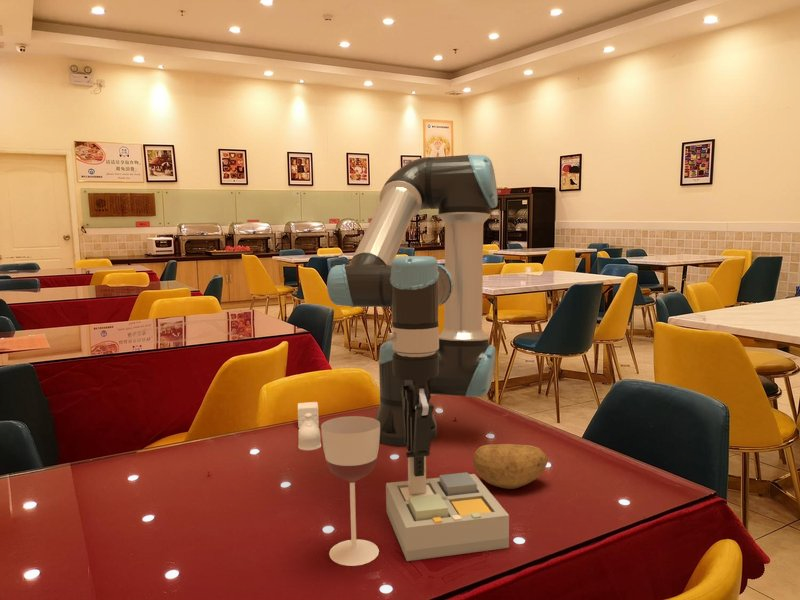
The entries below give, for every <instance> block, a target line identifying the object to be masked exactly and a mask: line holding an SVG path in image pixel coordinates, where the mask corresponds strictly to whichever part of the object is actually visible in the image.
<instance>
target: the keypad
mask: <svg viewBox="0 0 800 600" xmlns="http://www.w3.org/2000/svg"><path fill="white" fill-rule="evenodd" d="M468 474H469V475H470V476H471V478H472V479H473V480H474V481H475V482H476V484H477V493H470V494H461V495H452V496H446V495H445V494H444V492H443V491H442V489H441V488H440V477H433V478H426V485H429V487H430V488H431V490H432V492H433V493H434V494H440V496H441V497H442V499H443V500H444V502H445V504H446V505H447V507H448V517H447V518H441V517H436V518H433V519H430V520H421V521H414V520H413V518H412V516H411V514H410V512H409V500H408V501H404V499H403V497H402V495H401V493H400V488H404V487H408V480H403V481H396V482H395V481H394V482H386V483H385V495H386V496H385V500H386V507H385V510H386V514H387V516H388V518H389V522H390V524H391V526H392V528H393V531H394V534H395V536H396V539H397V541H398V543H399V546H400V548H401V551H402V553H403V556H404V558H405V560H406V562H410V561H418V560H426V559H435V558H441V557H450V556H456V555H463V554H471V553H479V552H487V551H488V552H489V551H493V550H494V551H495V550H502V549H508V548H510V515H509V513H508V512H507V511H506V509H505V508H503V507H502V505H501V504H500V502H499V501H498V500H497V499H496V498H495V496H494V495H493V494H492V493H491V492H490V490H489V489H488V488H487V487H486V485H484V484H483V483H484V482H482V481H481V480H480V478H479V477H478V476H477V475H476V474H475V473H472V474H471V473H468ZM480 498H481V499H482V500H483V502H484V503H485V504H486V506H487V507H488V508H489V509H490V511H491V512H489V513H480V514H479V513H471V515H463V516H460V515H458V514H457V512H456V510H455V509H454V507H453V506H452V504H451V502H454V501H463V500H471V499H480Z"/></svg>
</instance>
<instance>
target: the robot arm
mask: <svg viewBox="0 0 800 600" xmlns="http://www.w3.org/2000/svg"><path fill="white" fill-rule="evenodd" d="M498 203H499V202H498V188H497V179H496V174H495V170H494V165H493V161H492V160H491V159H490V157H489V156H487V155H484V154H482V155H481V154H470V153H469V154H463V155H448V156H447V155H446V156H431V157H430V156H426V157H421V158H417V159H414V160H412V161H409V162H407V163H406V164H404V165H403V166H401V168H398V169H397V170H396V171H395V172H394V173H393V174H392V175H391V176H389V178H388V179H387V180H386V182H385V183H384V185H383V187H382V189H381V190H380V192H379V204H378V207H377V209H375V212H374V215H373V217H372V218H371V219H370V223H369V224H368V227H367V228H366V231H365V232H364V234H363V236H362V238H361V240H360V241H359V244H358V246H357V248H356V250H355V251H354V254H353V256H352V258H351V259H350V261H349V263H348V264H345V263H343V264H338V265H334V266H332V267H331V268H330V270H329V272H328V275H327V281H326V289H327V293H328V294H327V295H328V297H329V300H330V301H331V303H333V305H336V306H343V307H344V306H345V307H351V308H355V307H356V308H357V307H358V308H359V307H360V308H362V307H364V308H367V307H368V308H370V307H371V308H373V307H375V308H377V307H379V308H380V307H382V308H383V307H384V308H386V307H387V308H391V327H392V329H391V330H392V332H389V333H388V339H390V340H387V341H385V342H383V343H382V344H381V345H380V347H379V355H378V357H379V358H378V359H379V360H378V366H379V367H378V368H379V370H378V372H379V373H378V374H379V375H378V376H379V408H378V409H377V414H376V416H375V419H376V420H378V421H379V422H380V440H379V443H381V444H385V445H389V446H398V447H406V450H407V452H405V454H406V455H405V456H406V458H407V481H408V491H409V493H410V494H418V493H426V479H427V457H430V455H431V442H432V441H434V440H435V439H436V438H437V437H438V424H437V421H436V418H435V415H434V407H435V406H434V403H433V402H431V401H430V400H431V395H437V396H453V397H454V396H456V397H465V398H469V397H470V398H471V397H473V398H475V397H477V398H482V397H484V396H486V395H487V394H488V392H489V390H490V388H491V385H492V380H493V376H494V370H495V364H496V347H495V345H492V344H490V343H489V336H488V335H487V333H485V332H484V330H483V290H484V289H483V283H484V282H483V281H484V280H483V275H484V273H483V272H484V223H485V222H486V221H487V220H488V219H490V217H491V209H494V208H496V207H497V206H498ZM421 210H438V218H439V219H440V220H441V221H442V222H443V223H444V266H443V265H441V264H438V260H437V258H436V257H434V256H430V255H428V256H427V255H412V256H411V255H410V256H409V255H407V256H405V255H404V256H397V253H398V251H399V249H400V247H401V244H402V243H403V240H404V238H405V235H406V233H407V230H408V228H409V226H410V223H411V221H412V219H413V218H415V217H416V216H417V215H418V214H419V213H420V211H421ZM396 256H397V257H396ZM442 305H443V307H444V309H443V310H444V313H443V318H444V319H443V321H444V322H443V330H442V331H441V332H440V329H439V328H440V327H439V307H440V306H442Z"/></svg>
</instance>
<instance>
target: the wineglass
mask: <svg viewBox="0 0 800 600" xmlns="http://www.w3.org/2000/svg"><path fill="white" fill-rule="evenodd" d="M320 427H321V430H320V433H321V440H322V447H323V448H322V449H323V452H324V456H325V461H326V465H327V468H328V470H329V471H330V473H332V474H333V475H334V476H335V477H337V478H339V479H341V480H344V481H347V482H349V502H350V509H349V510H350V537H351V538H350V539H347V540H343V541H340V542H338V543H337V544H334V545H333V546H332V548H330V550H329V553H328V555H329V558H330V559H331V560H332V561H333V562H334V563H336V564H338V565H341V566H347V567H349V566H350V567H351V566H352V567H356V566H362V565H365V564H368V563H370V562H372V561H374V560H376V558H377V557H378V556H379V552H380V550H379V548H378V545H376V544H375V543H374V542H372V541H370V540H366V539H359V538H358V539H357V516H356V515H357V514H356V482H357V481H359V480H361V479H363V478H365V477H366V476H368V475H369V474H371V472H372V471H373V470H374V469H375V467H376V464H377V460H378V453H379V447H380V442H379V440H380V422H379V421H378V420H376V418H373V417H370V416H369V417H368V416H362V415H359V416H358V415H354V416H351V415H350V416H349V415H348V416H339V417H334V418H331V419H328V420H326V421H323V423H322V424H321V425H320Z"/></svg>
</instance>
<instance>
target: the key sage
mask: <svg viewBox="0 0 800 600" xmlns="http://www.w3.org/2000/svg"><path fill="white" fill-rule="evenodd" d="M409 512H410V514H411V516H412V518H413V520H414V521H421V520H430V519H433V518H436V517H441V518H447V517H448V507H447V505H446V504H445V502H444V500H443V499H442V497H441V496H440V494H433V495H424V496H415V497H409Z"/></svg>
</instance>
